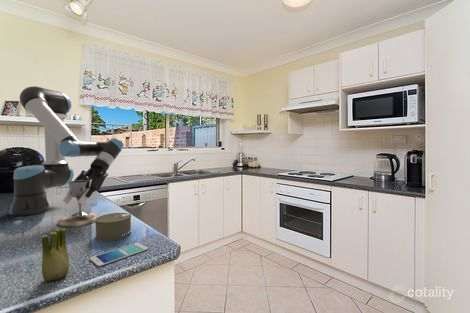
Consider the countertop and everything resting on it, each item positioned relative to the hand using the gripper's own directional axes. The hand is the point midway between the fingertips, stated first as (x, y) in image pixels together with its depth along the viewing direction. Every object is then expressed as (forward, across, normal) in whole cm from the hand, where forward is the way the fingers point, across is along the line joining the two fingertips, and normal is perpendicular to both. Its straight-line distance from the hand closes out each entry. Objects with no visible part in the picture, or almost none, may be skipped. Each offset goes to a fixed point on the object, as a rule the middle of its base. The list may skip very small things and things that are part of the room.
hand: (72, 202), depth 100 cm
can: (+11, -27, -2) cm, 30 cm away
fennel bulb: (+31, -35, +18) cm, 50 cm away
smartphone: (+21, -41, +7) cm, 47 cm away
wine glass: (+2, 0, -7) cm, 7 cm away
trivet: (+4, 0, -9) cm, 10 cm away
